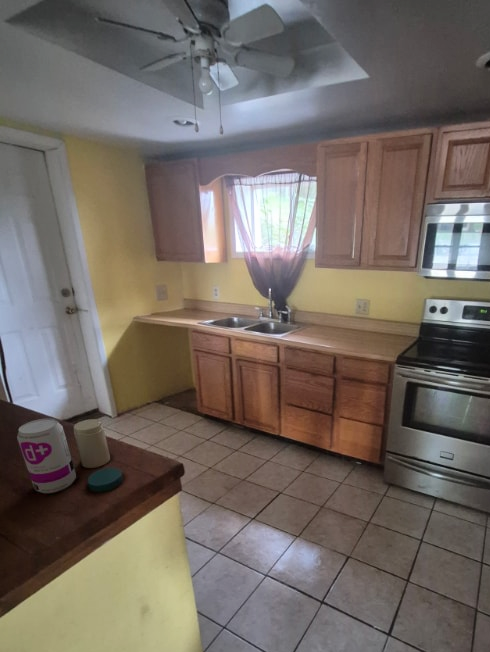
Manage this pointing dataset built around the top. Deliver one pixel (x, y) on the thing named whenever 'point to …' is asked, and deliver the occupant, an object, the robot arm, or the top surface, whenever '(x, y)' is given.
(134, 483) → the top surface
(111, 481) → the jar lid
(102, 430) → the jar
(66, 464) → the supplement can
